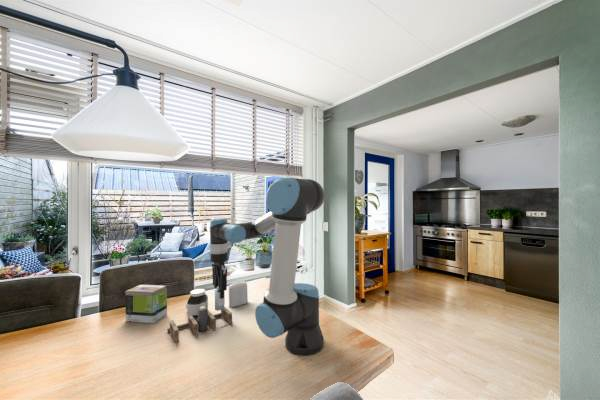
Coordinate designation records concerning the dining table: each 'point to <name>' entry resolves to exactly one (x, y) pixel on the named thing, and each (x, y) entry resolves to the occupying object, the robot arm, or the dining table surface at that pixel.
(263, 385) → the dining table surface
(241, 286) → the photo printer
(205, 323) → the charcoal plug
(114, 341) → the dining table surface
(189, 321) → the comb rack
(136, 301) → the tea box
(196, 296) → the spread jar
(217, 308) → the light blue bottle
